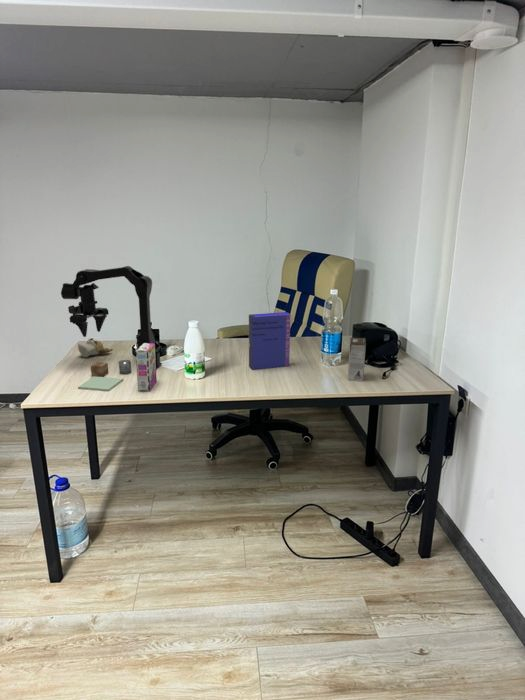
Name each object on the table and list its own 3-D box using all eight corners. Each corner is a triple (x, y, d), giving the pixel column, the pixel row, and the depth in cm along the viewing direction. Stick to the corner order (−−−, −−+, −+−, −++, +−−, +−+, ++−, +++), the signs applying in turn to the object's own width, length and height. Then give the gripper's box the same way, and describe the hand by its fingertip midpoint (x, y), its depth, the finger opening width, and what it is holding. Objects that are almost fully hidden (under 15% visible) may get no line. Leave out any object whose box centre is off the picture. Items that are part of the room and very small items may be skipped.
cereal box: (285, 363, 215) (286, 311, 208) (289, 366, 211) (290, 313, 203) (248, 366, 210) (248, 314, 203) (251, 370, 205) (251, 316, 198)
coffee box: (348, 372, 203) (350, 337, 198) (363, 373, 202) (365, 337, 197) (347, 380, 194) (350, 343, 189) (363, 381, 193) (366, 343, 188)
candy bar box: (150, 391, 181) (147, 351, 176) (137, 391, 181) (134, 350, 177) (157, 381, 192) (155, 342, 187) (145, 381, 192) (142, 342, 187)
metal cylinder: (133, 371, 204) (132, 360, 202) (128, 375, 199) (127, 363, 197) (122, 370, 205) (121, 359, 203) (117, 374, 200) (116, 363, 198)
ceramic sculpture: (72, 338, 221) (101, 333, 232) (73, 356, 223) (102, 350, 234) (83, 342, 214) (113, 338, 225) (84, 361, 216) (113, 355, 227)
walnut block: (108, 373, 201) (107, 362, 199) (102, 377, 196) (101, 366, 194) (97, 372, 201) (96, 361, 200) (91, 376, 197) (90, 365, 195)
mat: (123, 380, 193) (123, 378, 192) (108, 391, 181) (108, 389, 181) (94, 378, 195) (94, 376, 195) (78, 388, 184) (77, 386, 183)
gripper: (87, 294, 214) (91, 327, 218) (57, 302, 197) (61, 338, 202) (107, 295, 210) (111, 329, 215) (78, 303, 193) (83, 340, 198)
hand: (91, 334), depth 207 cm, fingers open, 9 cm apart
